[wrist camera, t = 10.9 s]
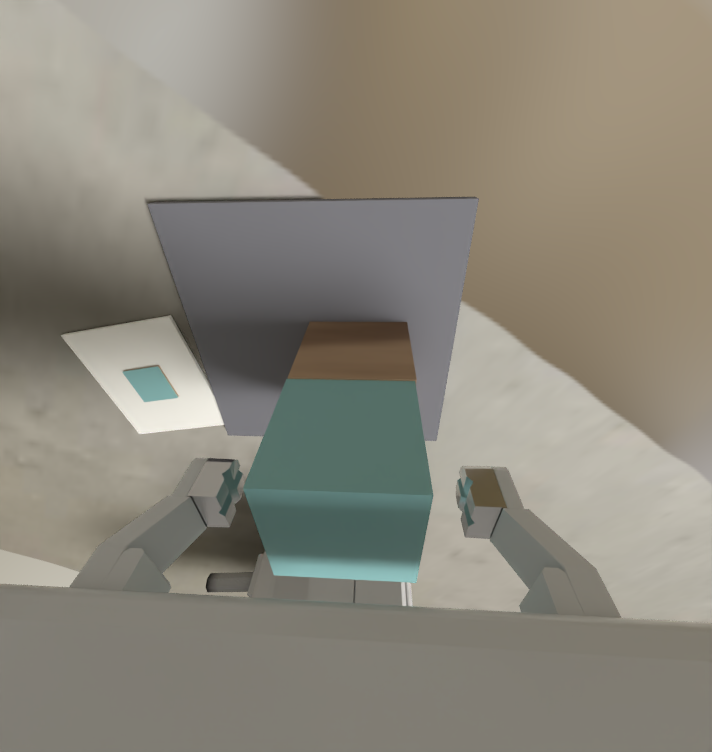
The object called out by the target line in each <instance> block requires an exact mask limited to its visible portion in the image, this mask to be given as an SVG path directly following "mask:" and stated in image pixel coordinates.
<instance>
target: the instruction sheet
mask: <svg viewBox="0 0 712 752" xmlns="http://www.w3.org/2000/svg"><path fill="white" fill-rule="evenodd" d="M61 337H62V338H63V339H64V340H65V342H66V343H67V344H68V345H69V347H70V348H71V349H72V350H73V352H74V353H75V354H76V355H77V357H78V358H79V359H80V360H81V362H82V363H83V364H84V365H85V367H86V368H87V369H88V370H89V372H90V373H91V374H92V375H93V377H94V378H95V379H96V380H97V382H98V383H99V384H100V385H101V387H102V388H103V389H104V390H105V392H106V393H107V394H108V395H109V397H110V398H111V399H112V400H113V402H114V403H115V404H116V405H117V407H118V408H119V409H120V410H121V412H122V413H123V414H124V415H125V417H126V418H127V419H128V420H129V422H130V423H131V424H132V425H133V427H134V428H135V429H136V430H137V432H138V433H139V434H146V433H154V432H163V431H172V430H181V429H190V428H199V427H208V426H217V425H224V422H223V419H222V417H221V414H220V411H219V408H218V405H217V402H216V399H215V396H214V394H213V391H212V388H211V386H210V384H209V382H208V380H207V378H206V377H205V375H204V373H203V371H202V369H201V368H200V366H199V364H198V362H197V361H196V359H195V357H194V355H193V353H192V352H191V350H190V348H189V346H188V345H187V343H186V341H185V339H184V337H183V336H182V334H181V332H180V330H179V329H178V327H177V325H176V323H175V321H174V320H173V318H172V316H171V315H169V316H163V317H157V318H152V319H146V320H140V321H134V322H129V323H123V324H117V325H112V326H106V327H100V328H95V329H89V330H83V331H78V332H72V333H66V334H63V335H61Z"/></svg>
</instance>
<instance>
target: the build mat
mask: <svg viewBox="0 0 712 752" xmlns="http://www.w3.org/2000/svg"><path fill="white" fill-rule="evenodd" d="M478 200H479V199H478V198H476V197H438V198H437V197H435V198H379V199H378V198H372V199H310V200H248V201H186V202H153V203H149V204H148V207H149V210H150V213H151V216H152V219H153V222H154V224H155V227H156V230H157V233H158V236H159V239H160V242H161V245H162V247H163V250H164V253H165V256H166V259H167V262H168V265H169V267H170V270H171V273H172V276H173V279H174V282H175V285H176V288H177V290H178V293H179V296H180V299H181V302H182V305H183V308H184V310H185V313H186V316H187V319H188V322H189V325H190V328H191V331H192V333H193V336H194V339H195V342H196V345H197V348H198V351H199V353H200V356H201V359H202V362H203V365H204V368H205V371H206V374H207V376H208V379H209V382H210V385H211V388H212V391H213V394H214V396H215V399H216V402H217V405H218V408H219V411H220V414H221V417H222V419H223V422H224V425H225V428H226V431H227V434H228V435H237V436H264V434H265V432H266V429H267V427H268V424H269V422H270V419H271V417H272V414H273V412H274V409H275V407H276V404H277V402H278V399H279V397H280V394H281V391H282V389H283V386H284V384H285V381H286V379H288V375H289V373H290V370H291V368H292V365H293V363H294V360H295V358H296V355H297V353H298V350H299V348H300V345H301V342H302V340H303V337H304V335H305V332H306V330H307V327H308V325H309V322H407V324H408V330H409V336H410V342H411V348H412V354H413V360H414V366H415V372H416V378H417V381H416V390H417V396H418V403H419V409H420V415H421V422H422V428H423V434H424V441H436V440H437V435H438V429H439V423H440V417H441V412H442V406H443V400H444V395H445V389H446V383H447V377H448V372H449V366H450V360H451V354H452V349H453V343H454V337H455V332H456V326H457V320H458V314H459V309H460V303H461V297H462V292H463V285H464V280H465V274H466V269H467V263H468V257H469V251H470V246H471V240H472V234H473V229H474V223H475V217H476V211H477V205H478Z"/></svg>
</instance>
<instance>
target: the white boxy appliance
mask: <svg viewBox="0 0 712 752" xmlns="http://www.w3.org/2000/svg"><path fill="white" fill-rule="evenodd" d="M206 589H207V592H248V593H247V595H248V596H249V597H252V598H270V599H288V600H306V601H325V602H343V603H361V604H379V605H397V606H413V605H412V591H411V583H410V582H391V581H372V580H353V579H334V578H315V577H296V576H277V575H274V574H273V571H272V568H271V566H270V563H269V560H268V557H267V554H266V552H265V551H264V554H259V556H258V559H257V562H256V566H255V569H254V572H242V573H211V574H210V575H209V577H208V579H207V583H206Z"/></svg>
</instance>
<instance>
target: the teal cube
mask: <svg viewBox="0 0 712 752" xmlns="http://www.w3.org/2000/svg"><path fill="white" fill-rule="evenodd" d="M243 490H244V493H245V495H246V498H247V501H248V504H249V507H250V509H251V512H252V515H253V518H254V521H255V523H256V526H257V529H258V532H259V535H260V538H261V540H262V543H263V546H264V549H265V552H266V554H267V557H268V560H269V563H270V566H271V568H272V571H273V574H274V575H277V576H296V577H315V578H334V579H353V580H372V581H391V582H410V583H416V581H417V576H418V570H419V565H420V560H421V555H422V550H423V545H424V540H425V535H426V530H427V525H428V520H429V514H430V509H431V504H432V499H433V491H432V485H431V478H430V472H429V466H428V459H427V453H426V447H425V441H424V434H423V428H422V422H421V415H420V409H419V403H418V396H417V390H416V384H415V381H380V380H324V379H286V381H285V384H284V386H283V389H282V391H281V394H280V397H279V399H278V402H277V404H276V407H275V409H274V412H273V414H272V417H271V419H270V422H269V424H268V427H267V429H266V432H265V434H264V437H263V439H262V442H261V444H260V447H259V449H258V452H257V454H256V457H255V459H254V462H253V464H252V467H251V469H250V472H249V474H248V477H247V480H246V482H245V485H244V487H243Z"/></svg>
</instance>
